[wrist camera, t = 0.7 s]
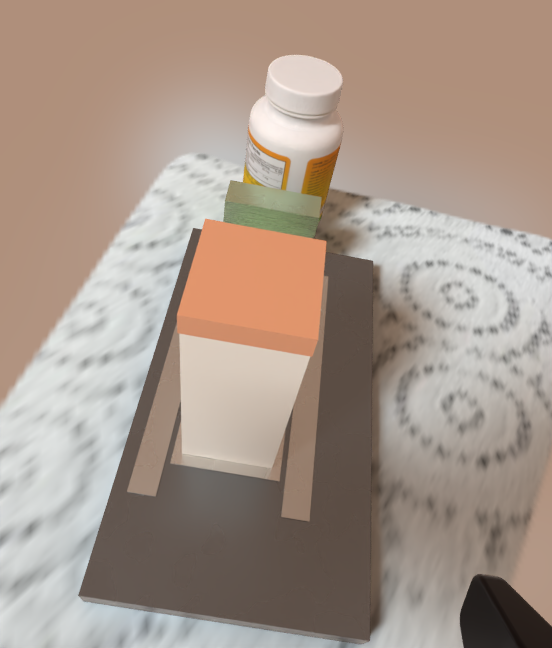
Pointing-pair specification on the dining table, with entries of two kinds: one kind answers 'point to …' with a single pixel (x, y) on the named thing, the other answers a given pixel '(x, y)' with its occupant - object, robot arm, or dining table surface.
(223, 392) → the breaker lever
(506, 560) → the dining table surface
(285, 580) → the plate
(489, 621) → the robot arm
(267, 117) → the supplement bottle
